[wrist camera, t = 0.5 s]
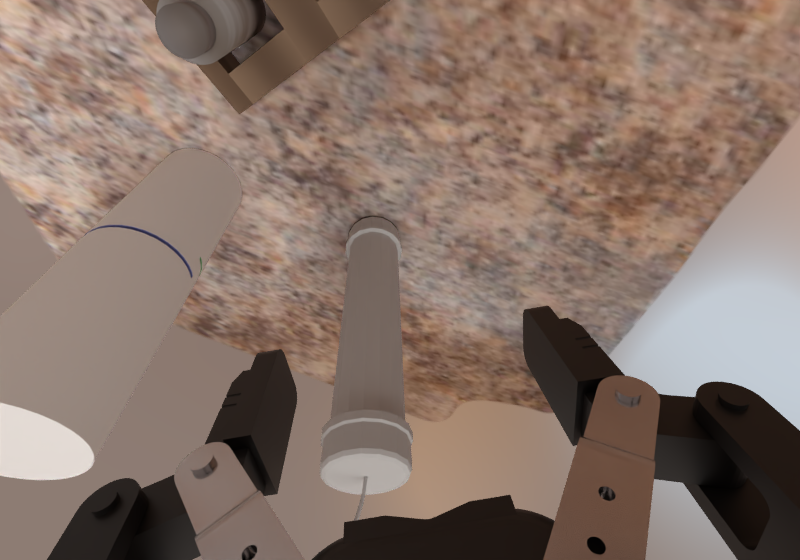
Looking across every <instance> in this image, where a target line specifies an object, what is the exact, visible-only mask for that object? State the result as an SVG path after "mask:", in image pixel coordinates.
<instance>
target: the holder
mask: <svg viewBox="0 0 800 560" xmlns="http://www.w3.org/2000/svg"><path fill="white" fill-rule="evenodd" d="M142 1H143V2H144V3H145V4H146V5H147V7H148V8H149V9H150V10H151V11H152V12H153V14H154V15H155V16H156V20H155V25H156V30H157V34H158V36H159V38H160V40H161V42H162V43H163V44H164V46H165V47H166V48H167V49H168V50H169V51H170V52H172V53H173V54H174V55H176V56H178V57H181V58H183V59H184V60H186V61H188V62H191V63H194V64H197V65H198V66H199V68H200V69H201V70H202V71H203V72H204V74H205V75H206V76H207V77H208V78H209V79H210V81H211V82H212V83H213V84H214V85H215V86H216V88H217V89H218V90H219V91H220V92H221V94H222V95H223V96H224V97H225V98H226V99H227V101H228V102H229V103H230V104H231V105H232V106H233V108H234V109H235V110H236V111H237V112H238V114H241V113H242V112H243V111H245V110H246V109H247V108H249V107H250V106H251V105H253V104H254V103H255V102H257V101H258V100H259V99H261V98H262V97H263V96H264V95H266V94H267V93H268V92H270V91H271V90H272V89H274V88H275V87H276V86H278V85H279V84H280V83H282V82H283V81H284V80H286V79H287V78H288V77H290V76H291V75H292V74H294V73H295V72H296V71H298V70H299V69H300V68H302V67H303V66H304V65H305V64H307V63H308V62H309V61H311V60H312V59H313V58H315V57H316V56H317V55H319V54H320V53H321V52H323V51H324V50H325V49H327V48H328V47H329V46H331V45H332V44H333V43H335V42H336V41H337V40H339V39H340V38H341V37H343V36H344V35H345V34H346V33H348V32H349V31H350V30H352V29H353V28H354V27H356V26H357V25H358V24H360V23H361V22H362V21H364V20H365V19H366V18H368V17H369V16H370V15H372V14H373V13H374V12H376V11H377V10H378V9H380V8H381V7H382V6H383V5H385V4H386V3H387V2H389V1H390V0H265V2H266V3H267V5H268V6H269V7H270V9H271V10H272V12H273V13H274V15H275V16H276V18H277V19H278V21H279V22H280V24H281V25H282V26H283V28H284V29H283V30H282V31H281V32H280V33H279V34H277V35H276V36H275V37H274V38H272V39H271V40H270V41H269V42H267V43H266V44H265V45H264V46H262V47H261V48H260V49H259V50H258V51H256V52H255V53H254V54H253V55H251V56H250V57H249V58H248V59H246V60H245V61H244V62H243V63H241V64H239V62H238V61H237V60H236V59H235V57H234V56H233V55H232V54H231V51H232V50H234V49H235V48H237V47H238V46H240V45H241V44H243V43H244V42H246V41H247V40H249V39H250V38H252V37H253V36H255V35H256V34H258V33H259V32H260V31H261V29H262V28H263V26H264V23H265V16H266V13H265V6H264V3H263V0H142Z"/></svg>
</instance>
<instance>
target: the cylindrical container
mask: <svg viewBox="0 0 800 560" xmlns="http://www.w3.org/2000/svg"><path fill="white" fill-rule="evenodd" d="M241 199H242V188H241V184H240V181H239V179H238V177H237V175H236V174H235V172H234V171H233V170H232V169H231V167H230V166H229V165H228V164H227V163H226V162H224V161H223V160H222V159H220V158H219V157H217V156H215V155H214V154H212V153H209V152H207V151H204V150H200V149H195V148H185V149H179V150H177V151H174V152H172V153H171V154H170V155H168V156H167V157H166V158H165V159H164V160H163V161H162V162H161V163H160V164H159V165H158V166H157V167H156V168H155V169H153V170H152V171H151V172H150V173H149V174H148V175H147V176H146V177H145V178H144V179H143V180H142V181H141V182H140V183H139V184H138V185H137V186H136V187H135V188H134V189H133V190H132V191H131V192H130V193H129V194H128V195H126V196H125V197H124V198H123V199H122V200H121V201H120V202H119V203H118V204H117V205H116V206H115V207H114V208H113V209H112V210H111V211H109V212H108V213H107V214H106V215H105V216H104V217H103V218H102V219H101V220H100V221H99V222H98V223H97V224H96V225H95V226H94V227H93V228H91V229H90V230H89V231H88V232H87V233H86V234H85V235H84V236H83V237H82V238H81V239H80V240H79V241H78V242H77V243H76V244H75V245H74V246H73V247H72V248H70V249H69V250H68V251H67V252H66V253H65V254H64V255H63V256H62V257H61V258H60V259H59V260H58V261H57V262H56V263H55V264H54V265H53V266H52V267H51V268H50V269H49V270H48V271H47V272H46V273H45V274H44V275H42V276H41V277H40V278H39V279H38V280H37V281H36V282H35V283H34V284H33V285H32V286H31V287H30V288H29V289H28V290H27V291H26V292H25V293H24V294H23V295H22V296H21V297H20V298H19V299H17V300H16V301H15V302H14V303H13V304H12V305H11V306H10V307H9V308H8V309H7V310H6V311H5V312H4V313H3V314H2V315H1V316H0V476H5V477H12V478H20V479H30V480H56V479H65V478H70V477H74V476H77V475H79V474H82V473H84V472H86V471H87V470H88V469H89V468H91V467H92V465H93V463H94V461H95V460H96V457H97V456H98V454H99V452H100V450H101V449H102V447H103V446H104V444H105V442H106V440H107V438H108V437H109V435H110V433H111V431H112V430H113V428H114V426H115V424H116V423H117V421H118V419H119V417H120V416H121V414H122V412H123V410H124V408H125V406H126V405H127V403H128V401H129V400H130V398H131V396H132V394H133V392H134V391H135V389H136V387H137V385H138V384H139V382H140V380H141V378H142V377H143V375H144V373H145V371H146V370H147V368H148V366H149V364H150V363H151V360H152V359H153V357H154V356H155V354H156V352H157V350H158V348H159V347H160V345H161V343H162V341H163V339H164V338H165V336H166V334H167V332H168V331H169V329H170V327H171V326H172V324H173V322H174V320H175V318H176V317H177V315H178V313H179V311H180V310H181V308H182V306H183V304H184V303H185V301H186V299H187V297H188V296H189V294H190V292H191V290H192V288H193V287H194V285H195V283H196V281H197V280H198V278H199V276H200V274H201V273H202V271H203V269H204V267H205V265H206V264H207V262H208V260H209V258H210V257H211V255H212V253H213V251H214V250H215V248H216V246H217V244H218V242H219V241H220V239H221V237H222V235H223V234H224V232H225V230H226V228H227V227H228V225H229V223H230V221H231V219H232V218H233V216H234V214H235V212H236V211H237V209H238V207H239V205H240V203H241Z"/></svg>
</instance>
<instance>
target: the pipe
mask: <svg viewBox="0 0 800 560" xmlns="http://www.w3.org/2000/svg"><path fill="white" fill-rule="evenodd" d="M401 252H402V247H401V243H400V237H399V233H398V230H397V229H396V228H395V226H394V225H393V224H392V223H391V222H389V221H387V220H385V219H384V218H380V217H368V218H364V219H361V220H360V221H358V222H357V223H356V224H354V225H353V227H352V229H351V230H350V232H349V238H348V240H347V243H346V256H347V258H348V261H349V262H348V271H347V280H346V288H345V297H344V306H343V315H342V323H341V332H340V341H339V349H338V358H337V367H336V375H335V384H334V393H333V402H332V411H331V419H330V420H329V421H328V422H327V423H326V424H325V425H324V427H323V429H322V436H321V446H322V455H321V463H320V476H321V478H322V479H323V481H324V482H325V483H326V484H327V485H328V486H330V487H332V488H334V489H336V490H338V491H342V492H347V493H351V494H361V499H360V503H359V506H358V510H357V513H356V516H355V519H354V521H356V520H358V519H359V516H360V513H361V510H362V506H363V503H364V498H365V494H366V495H367V494H368V495H370V494H377V493H385V492H388V491H391V490H394V489H396V488H399V487H400V486H402V485H403V484H404V483H406V482H407V481H408V479H409V476H410V473H411V470H412V458H411V445H412V442H413V434H412V430H411V428H410V426H409V423H407V422H406V421H405V406H404V383H403V360H402V337H401V314H400V292H399V269H398V261H399V260H400V258H401Z"/></svg>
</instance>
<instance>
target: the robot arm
mask: <svg viewBox="0 0 800 560" xmlns="http://www.w3.org/2000/svg"><path fill="white" fill-rule="evenodd" d="M523 349H524V356H525V359H526V362H527V365H528V367H529V369H530V371H531V372H532V374H533V376H534V378H535V379H536V381H537V383H538V385H539V387H540V388H541V390H542V392H543V394H544V395H545V397H546V399H547V401H548V403H549V404H550V406H551V408H552V410H553V411H554V413H555V415H556V417H557V419H558V420H559V422H560V423H561V426H562V427H563V429H564V431H565V433H566V434H567V436H568V438H569V440H570V442H571V443H572V445H573V446H575V445H577V448H576V452H575V454H574V458H573V461H572V465H571V468H570V471H569V475H568V478H567V482H566V485H565V488H564V491H563V495H562V498H561V502H560V506H559V508H558V512H557V515H556V518H555V521H554V520H552V519H550V518H548V517H545V516H543V515H540V514H538V513H535V512H531V511H527V510H522V509H515V507H514V504H513V501H512V499H511V496H510V495H506V496H500V497H494V498H488V499H483V500H477V501H470V502H468V503H466V504H463V505H461V506H459V507H456V508H454V509H452V510H450V511H448V512H445V513H443V514H441V515H439V516H437V517H434V518H432V519H414V518H404V517H393V516H380V517H374V518H368V519H362V520H356V521H350V522H345V523H344V537H343V538H341V539H339V540H337V541H335V542H334V543H332V544H330V545H329V546H327V547H326V548H325V549H323V550H322V551H321V552H319V553H318V554H317V555H316V556H315V557H314V558H313V559H312V560H645V556H646V547H647V538H648V528H649V518H650V510H651V500H652V490H653V482H654V479H659V480H666V481H674V482H682V483H684V485H685V486H686V487H687V489H688V490H689V492H690V493H691V494H692V496H693V497H694V499H695V500H696V502H697V503H698V504H699V506H700V507H701V509H702V510H703V511H704V513H705V514H706V516H707V517H708V519H709V520H710V521H711V523H712V524H713V525H714V527H715V528H716V530H717V531H718V533H719V534H720V535H721V537H722V538H723V540H724V541H725V542H726V544H727V545H728V547H729V548H730V549H731V551H732V552H733V554H734V555H735V556H736V558H737V559H738V560H800V431H799V430H798V429H797V428H796V427H795V426H794V425H792V424H791V423H790V422H789V421H788V420H787V419H786V418H785V417H783V416H782V415H781V414H780V413H779V412H778V411H777V410H775V409H774V408H773V407H772V406H771V405H770V404H769V403H767V402H766V401H765V400H764V399H763V398H761V397H760V396H759V395H758V394H756V393H754V392H753V391H751V390H749V389H746V388H744V387H742V386H739V385H736V384H732V383H726V382H709V383H705V384H703V385H701V386H700V387H699V388H698V390H697V392H696V396H695V397H684V396H671V395H662V394H658V393H657V391H656V390H655V389H654V388H653V387H652V386H650V385H649V384H647V383H646V382H643V381H642V380H639V379H637V378H634V377H630V376H625V375H624V374H623V373H622V372H621V370H620V369H619V368H618V367H617V366H616V365H615V364H614V362H613V361H612V360H611V359H610V358H609V357H608V356H607V354H606V353H605V352H604V351H603V350H602V349H601V348H600V346H599V347H598V344H597V343H596V342H595V341H594V340H593V338H591V337H590V335H589V334H588V333H587V332H586V330H585V329H584V328H583V327H582V326H581V325H579V324H577V323H576V322H574V321H572V320H570V319H568V318H564V319H559V318H558V317H557V315H556V314H555V313H554V312H553V310H552V309H551V308H550V307H549V306H543V307H537V308H531V309H525V310H524V312H523ZM296 404H297V392H296V386H295V383H294V380H293V377H292V374H291V371H290V369H289V366H288V363H287V360H286V357H285V354H284V352H283V351H282V350H281V349H280V350H274V351H268V352H262V353H258V354H257V355H256V357H255V360H254V362H253V365H252V367H251V369H250V370H247V371H243V372H242V373H241V374H240V375H239V376H238V377H237V378H236V379H235V380H234V381H233V382H232V384H231V387H230V389H229V391H228V393H227V398H225V400H224V402H223V404H222V408H221V409H220V411H219V413H218V416H217V418H216V420H215V422H214V425H213V427H212V429H211V431H210V434H209V436H208V438H207V440H206V443H205V445H203V446H201V447H199V448H197V449H196V450H194V451H192V452H191V453H190V454H188V455H187V456H186V457H185V458H184V459H183V460H182V462H181V463H180V464H179V466H178V467H177V469H176V472H175V474H174V475H172V476H170V477H168V478H166V479H163V480H161V481H159V482H156V483H154V484H152V485H149V486H147V487H144V488H142V489H141V487H140V486H139V484H138V483H137V482H136V481H135V480H133V479H130V478H124V479H119V480H116V481H113V482H110V483H108V484H107V485H105V486H103V487H101V488H100V489H98V490H97V491H95V492H94V493H93V494H92V495H91V496H90V497H88V498H87V499H86V500H85V501H84V502H83V504H82V505H81V506H80V507H79V509H78V510H77V512H76V513H75V515H74V517H73V518H72V520H71V522H70V523H69V525H68V526H67V528H66V530H65V531H64V533H63V534H62V536H61V538H60V539H59V541H58V543H57V544H56V546H55V547H54V549H53V551H52V553H51V554H50V556H49V557H48V559H47V560H192V559H194V558H197V557H199V556H202V559H203V560H305V559H304V557H303V556H302V554H301V553H300V551H299V550H298V548H297V547H296V545H295V543H294V542H293V540H292V539H291V537H290V536H289V534H288V533H287V531H286V530H285V528H284V527H283V525H282V523H281V522H280V520H279V519H278V517H277V516H276V514H275V513H274V511H273V509H272V508H271V506H270V505H269V504H268V502H267V500H266V499H265V497H264V496H267V495H273V494H277V493H278V488H279V483H280V479H281V474H282V469H283V465H284V460H285V455H286V451H287V446H288V441H289V437H290V432H291V427H292V422H293V418H294V413H295V409H296Z"/></svg>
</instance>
